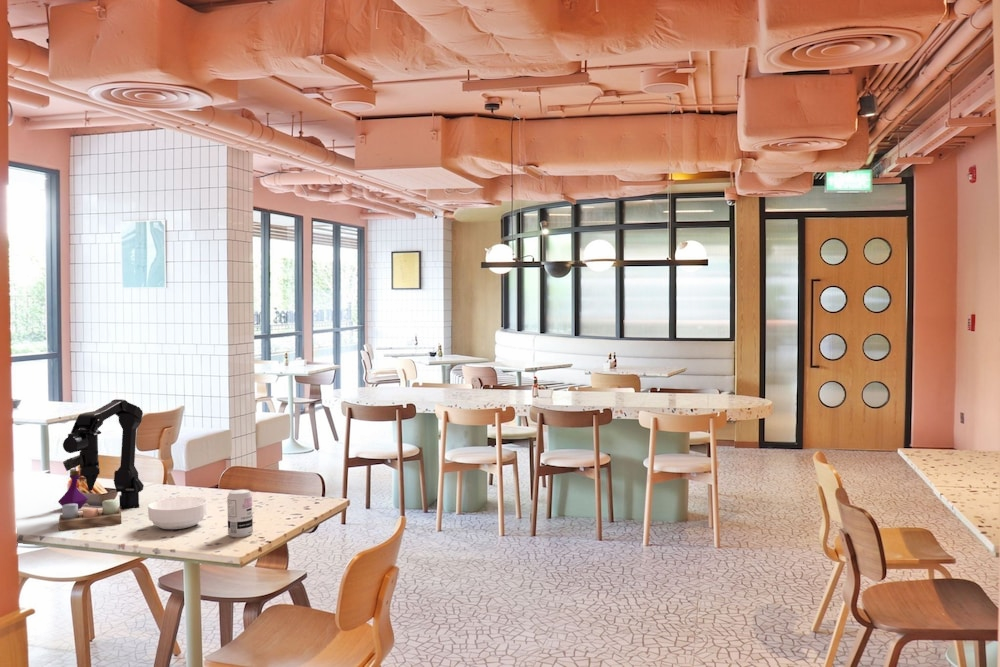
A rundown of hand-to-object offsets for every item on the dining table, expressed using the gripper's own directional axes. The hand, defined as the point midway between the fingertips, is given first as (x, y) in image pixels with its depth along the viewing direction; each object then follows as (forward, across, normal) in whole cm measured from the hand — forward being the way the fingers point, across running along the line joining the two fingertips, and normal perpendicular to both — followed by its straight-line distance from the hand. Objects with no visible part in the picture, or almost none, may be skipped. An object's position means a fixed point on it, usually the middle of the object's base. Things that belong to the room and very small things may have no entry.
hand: (90, 490), depth 295 cm
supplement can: (+12, +43, +46) cm, 64 cm away
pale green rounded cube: (+9, +1, +6) cm, 11 cm away
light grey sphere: (+9, +1, -7) cm, 11 cm away
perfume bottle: (+12, -27, -6) cm, 30 cm away
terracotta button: (+12, +1, 0) cm, 12 cm away
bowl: (+12, +21, +28) cm, 37 cm away
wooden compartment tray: (+12, +1, 0) cm, 12 cm away
